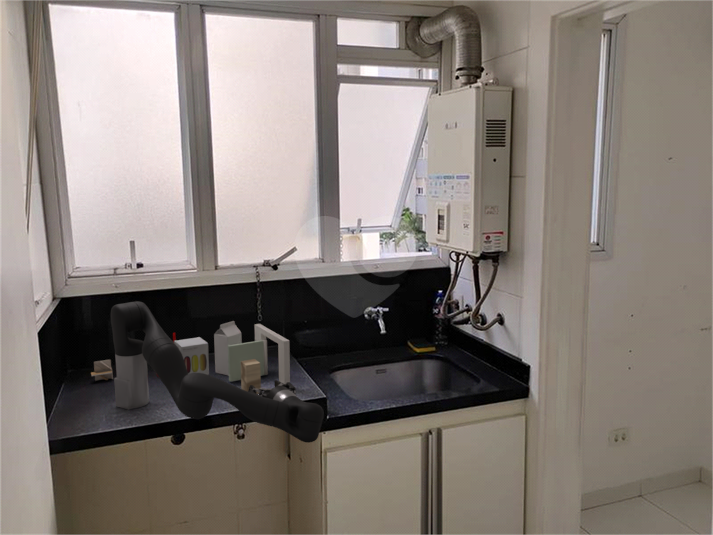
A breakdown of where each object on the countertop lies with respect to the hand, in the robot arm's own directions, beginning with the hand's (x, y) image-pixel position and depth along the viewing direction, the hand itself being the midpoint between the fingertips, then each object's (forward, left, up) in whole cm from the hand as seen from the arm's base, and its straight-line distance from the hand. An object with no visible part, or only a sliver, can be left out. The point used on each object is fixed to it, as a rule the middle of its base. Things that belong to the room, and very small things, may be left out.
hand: (263, 385), depth 183 cm
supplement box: (-1, +30, -6) cm, 30 cm away
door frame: (+18, +10, -6) cm, 21 cm away
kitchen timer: (+8, +47, -6) cm, 48 cm away
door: (+16, +19, -5) cm, 25 cm away
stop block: (+5, +9, -6) cm, 12 cm away
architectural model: (-10, +64, -7) cm, 65 cm away
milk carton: (+18, +30, -6) cm, 35 cm away
